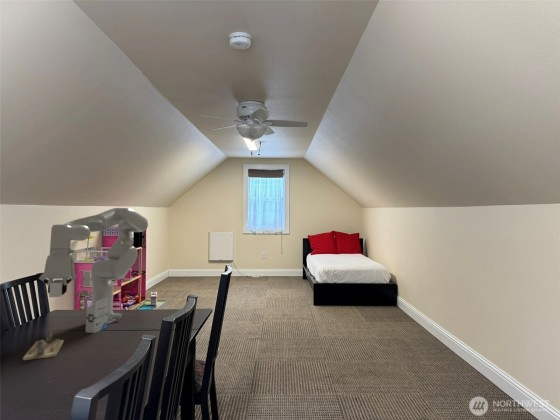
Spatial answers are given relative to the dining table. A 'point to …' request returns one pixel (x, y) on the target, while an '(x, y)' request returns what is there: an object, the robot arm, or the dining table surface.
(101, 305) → the ink box
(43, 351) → the cradle
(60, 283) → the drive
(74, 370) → the dining table surface
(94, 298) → the robot arm
